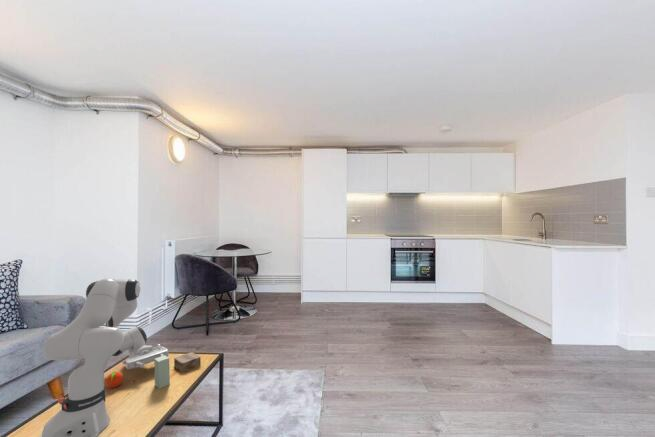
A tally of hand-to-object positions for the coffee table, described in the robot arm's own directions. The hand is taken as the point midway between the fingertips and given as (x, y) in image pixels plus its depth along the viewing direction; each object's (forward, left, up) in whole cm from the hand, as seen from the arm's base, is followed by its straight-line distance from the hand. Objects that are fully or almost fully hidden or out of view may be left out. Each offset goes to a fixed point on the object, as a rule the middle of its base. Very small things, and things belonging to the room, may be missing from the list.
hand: (152, 362), depth 162 cm
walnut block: (+17, -2, -8) cm, 19 cm away
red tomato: (-16, +4, -8) cm, 18 cm away
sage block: (0, -12, -8) cm, 14 cm away
